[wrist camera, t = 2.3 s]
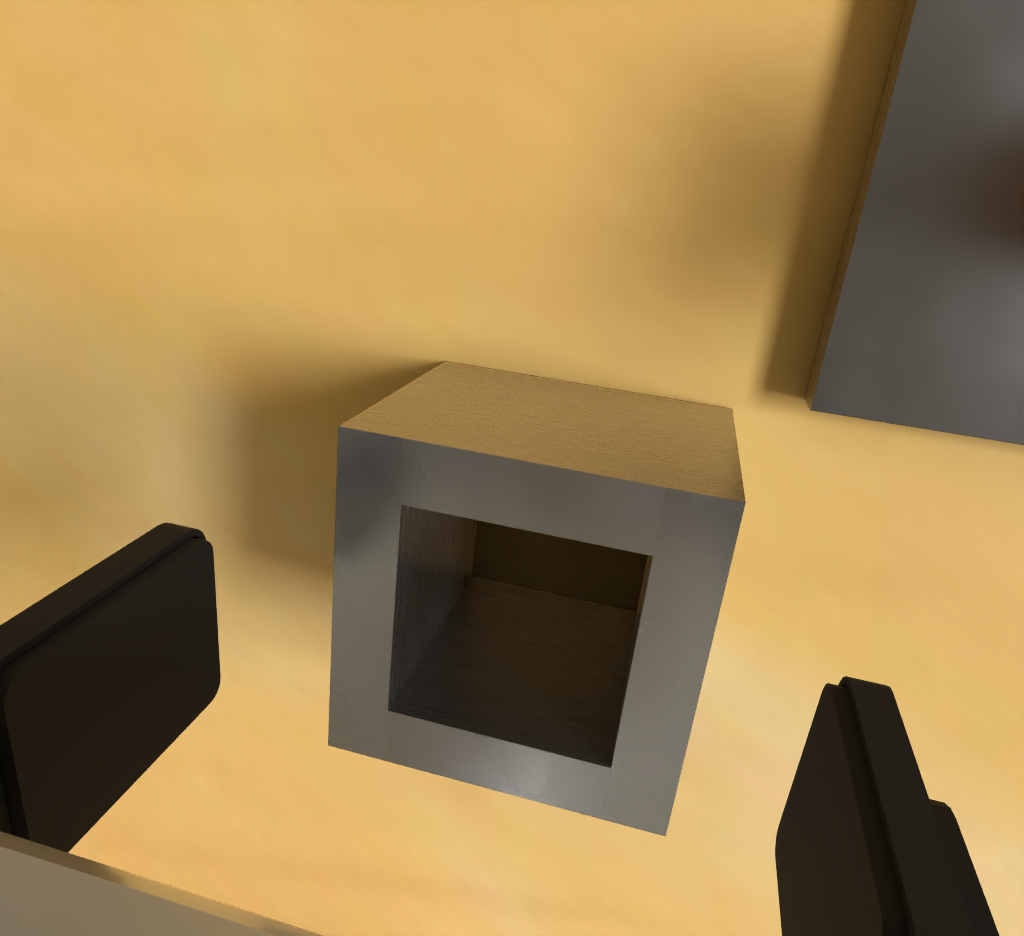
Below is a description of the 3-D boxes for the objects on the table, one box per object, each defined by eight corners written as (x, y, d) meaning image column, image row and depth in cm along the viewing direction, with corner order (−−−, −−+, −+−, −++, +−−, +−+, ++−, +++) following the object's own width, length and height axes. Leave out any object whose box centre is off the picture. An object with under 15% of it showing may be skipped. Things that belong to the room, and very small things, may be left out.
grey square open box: (675, 662, 20) (665, 836, 15) (425, 605, 21) (328, 745, 16) (732, 408, 18) (745, 501, 12) (445, 361, 19) (338, 425, 13)
